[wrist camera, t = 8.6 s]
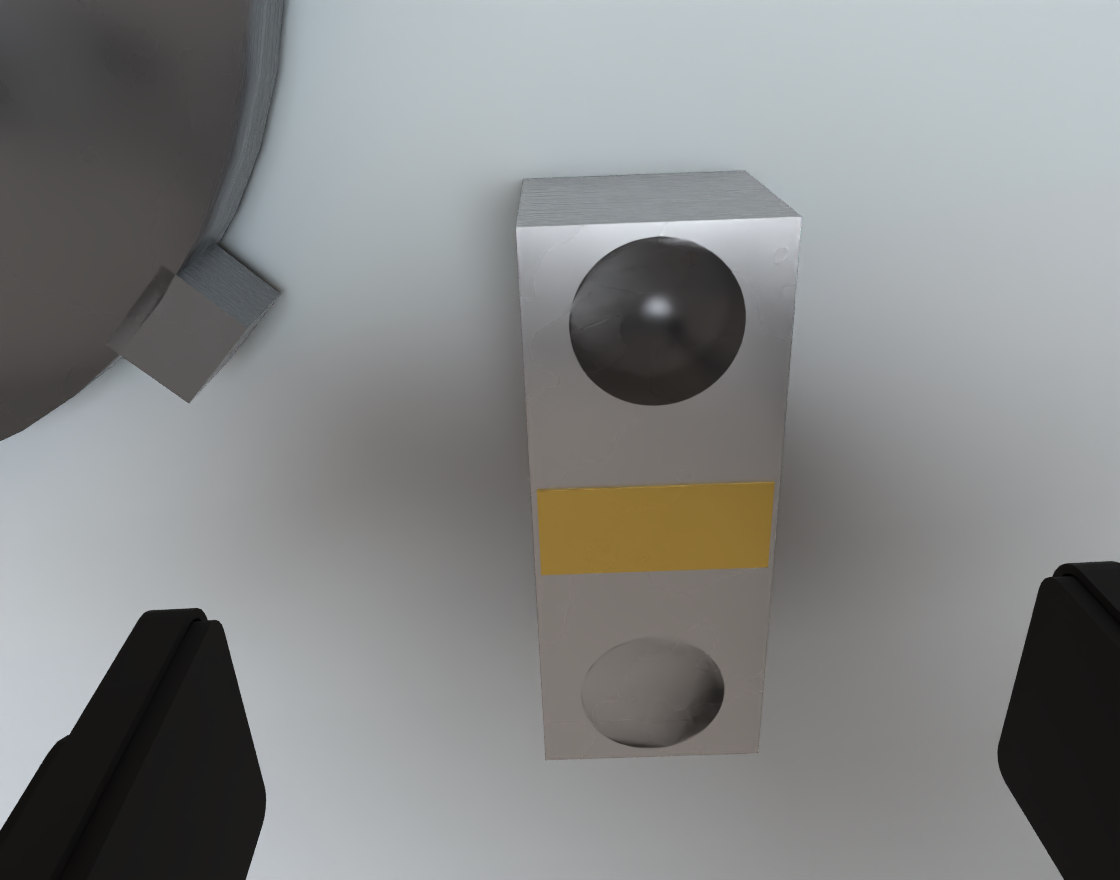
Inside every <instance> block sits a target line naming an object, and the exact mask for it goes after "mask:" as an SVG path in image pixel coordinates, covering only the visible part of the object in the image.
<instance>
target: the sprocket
mask: <svg viewBox="0 0 1120 880" xmlns="http://www.w3.org/2000/svg"><path fill="white" fill-rule="evenodd" d="M282 11H283V0H0V441H1V440H4V439H6V438H8V437H10V436H12V435H14V434H16V433H19V432H21V431H23V430H24V429H26V428H27V427H29V426H30V425H32V424H33V423H35V422H36V421H38V420H39V419H41V418H42V417H44V416H45V415H47V414H48V413H50V412H51V411H53V410H54V409H56V408H57V407H59V406H60V405H62V404H63V403H65V402H66V401H68V400H69V399H70V398H72V397H73V396H75V395H76V394H77V393H79V392H80V391H81V390H82V389H84V388H85V387H86V386H87V385H89V384H90V383H91V382H92V381H94V380H95V379H96V378H97V377H99V376H100V375H101V374H102V373H104V372H105V371H106V370H107V369H109V368H110V367H111V366H112V365H113V364H115V363H116V362H117V361H118V360H120V359H121V358H122V357H124V358H125V359H127V360H128V361H129V362H131V363H132V364H134V365H135V366H137V367H138V368H139V369H141V370H142V371H144V372H145V373H146V374H148V375H149V376H151V377H152V378H154V379H155V380H156V381H158V382H159V383H161V384H162V385H163V386H165V387H166V388H168V389H169V390H171V391H172V392H173V393H175V394H176V395H178V396H179V397H181V398H182V399H183V400H185V401H186V402H188V403H190V402H191V401H192V400H193V398H194V397H195V396H196V395H197V394H198V393H199V392H200V391H201V390H202V389H203V388H204V387H205V386H206V384H207V383H208V382H209V381H210V380H211V379H212V378H213V377H214V376H215V375H216V374H217V373H218V371H219V370H220V369H221V368H222V367H223V366H224V365H225V364H226V363H227V362H228V360H229V359H230V358H231V357H232V355H233V354H234V353H235V351H236V350H237V349H238V348H239V346H240V345H241V344H242V343H243V341H244V340H245V339H246V337H247V336H248V335H249V334H250V332H251V331H252V330H253V328H254V327H255V326H256V325H257V323H258V322H259V321H260V320H261V318H262V317H263V316H264V314H265V313H266V312H267V311H268V309H269V308H270V307H271V305H272V304H273V303H274V302H275V300H276V299H277V298H278V297H279V295H280V293H279V292H277V291H276V290H275V289H273V288H272V287H271V286H270V285H268V284H267V283H266V282H264V281H263V280H262V279H260V278H259V277H258V276H257V275H255V274H254V273H253V272H251V271H250V270H249V269H248V268H246V267H245V266H244V265H242V264H241V263H240V262H238V261H237V260H236V259H235V258H233V257H232V256H231V255H229V254H228V253H227V252H226V251H224V250H223V249H222V248H220V247H219V246H218V244H219V242H220V240H221V238H222V236H223V235H224V233H225V231H226V229H227V227H228V226H229V224H230V222H231V220H232V218H233V217H234V215H235V213H236V211H237V209H238V206H239V203H240V201H241V198H242V195H243V193H244V190H245V187H246V185H247V182H248V179H249V176H250V174H251V171H252V168H253V166H254V163H255V160H256V158H257V155H258V152H259V150H260V147H261V143H262V139H263V134H264V130H265V125H266V121H267V116H268V112H269V107H270V103H271V98H272V94H273V89H274V85H275V80H276V76H277V67H278V56H279V45H280V33H281V22H282Z"/></svg>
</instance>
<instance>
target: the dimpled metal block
mask: <svg viewBox="0 0 1120 880" xmlns="http://www.w3.org/2000/svg"><path fill="white" fill-rule="evenodd" d="M801 223H802V216H801V215H799V214H798V213H797V212H796V211H794V210H793V209H792V208H791V207H789V206H788V205H787V204H786V203H785V202H783V201H782V200H781V199H780V198H778V197H777V196H776V195H775V194H773V193H772V192H771V191H770V190H769V189H767V188H766V187H765V186H764V185H762V184H761V183H760V182H759V181H758V180H756V179H755V178H754V177H753V176H751V175H750V174H749V173H748V172H746V171H724V172H697V173H671V174H644V175H617V176H590V177H564V178H537V179H523V186H522V192H521V198H520V204H519V211H518V217H517V223H516V239H517V257H518V275H519V293H520V310H521V328H522V346H523V364H524V382H525V400H526V418H527V436H528V453H529V471H530V489H531V507H532V525H533V543H534V561H535V578H536V596H537V614H538V632H539V650H540V668H541V686H542V703H543V721H544V739H545V757H546V760H561V759H591V758H621V757H651V756H681V755H710V754H740V753H758V747H759V735H760V723H761V711H762V698H763V686H764V674H765V662H766V650H767V638H768V625H769V613H770V601H771V589H772V577H773V564H774V552H775V540H776V528H777V516H778V503H779V491H780V479H781V467H782V455H783V442H784V430H785V418H786V406H787V394H788V381H789V369H790V357H791V345H792V333H793V320H794V308H795V296H796V284H797V272H798V260H799V247H800V235H801Z"/></svg>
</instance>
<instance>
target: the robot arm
mask: <svg viewBox="0 0 1120 880" xmlns="http://www.w3.org/2000/svg"><path fill="white" fill-rule="evenodd" d="M997 753H998V763H999V768H1000V771H1001V774H1002V777H1003V779H1004V781H1005V783H1006V784H1007V786H1008V788H1009V789H1010V791H1011V793H1012V794H1013V796H1014V798H1015V799H1016V801H1017V803H1018V804H1019V806H1020V808H1021V809H1022V811H1023V812H1024V814H1025V816H1026V817H1027V819H1028V821H1029V822H1030V824H1031V826H1032V827H1033V829H1034V831H1035V832H1036V834H1037V836H1038V837H1039V839H1040V841H1041V842H1042V844H1043V845H1044V847H1045V849H1046V850H1047V852H1048V854H1049V855H1050V857H1051V859H1052V860H1053V862H1054V864H1055V865H1056V867H1057V869H1058V870H1059V872H1060V874H1061V875H1062V877H1063V878H1064V880H1120V563H1118V562H1114V561H1106V562H1086V563H1067V564H1063V565H1060V566H1059V567H1058V568H1057V569H1056V570H1055V572H1054V574H1053V577H1049V578H1045V579H1044V580H1043V581H1042V583H1041V585H1040V588H1039V591H1038V595H1037V598H1036V602H1035V606H1034V610H1033V614H1032V618H1031V622H1030V625H1029V629H1028V633H1027V637H1026V641H1025V645H1024V649H1023V652H1022V656H1021V660H1020V664H1019V668H1018V672H1017V676H1016V679H1015V683H1014V687H1013V691H1012V695H1011V699H1010V703H1009V706H1008V710H1007V714H1006V718H1005V722H1004V726H1003V729H1002V733H1001V737H1000V741H999V745H998V752H997ZM265 809H266V792H265V786H264V782H263V778H262V775H261V771H260V767H259V763H258V759H257V755H256V751H255V748H254V744H253V740H252V736H251V732H250V728H249V725H248V721H247V717H246V713H245V709H244V705H243V702H242V698H241V694H240V690H239V686H238V682H237V679H236V675H235V671H234V667H233V663H232V659H231V655H230V652H229V648H228V644H227V640H226V636H225V632H224V629H223V626H222V624H221V623H220V622H219V621H217V620H207V617H206V615H205V613H204V612H203V611H202V610H201V609H198V608H189V609H169V610H150V611H147V612H145V613H144V614H143V615H142V616H141V617H140V618H139V620H138V622H137V623H136V625H135V627H134V628H133V630H132V632H131V633H130V635H129V636H128V638H127V640H126V641H125V643H124V645H123V646H122V648H121V650H120V651H119V653H118V655H117V656H116V658H115V660H114V661H113V663H112V665H111V666H110V668H109V670H108V671H107V673H106V675H105V676H104V678H103V680H102V681H101V683H100V685H99V686H98V688H97V690H96V691H95V693H94V695H93V696H92V698H91V700H90V701H89V703H88V705H87V706H86V708H85V710H84V711H83V713H82V715H81V716H80V718H79V720H78V721H77V723H76V725H75V726H74V728H73V730H72V731H71V733H70V735H67V736H66V737H64V738H62V739H61V740H59V741H58V742H57V743H56V744H55V745H54V746H53V748H52V749H51V750H50V751H49V753H48V754H47V756H46V757H45V759H44V760H43V762H42V764H41V765H40V767H39V769H38V770H37V772H36V773H35V775H34V777H33V778H32V780H31V782H30V783H29V785H28V786H27V788H26V790H25V791H24V793H23V795H22V796H21V798H20V799H19V801H18V803H17V804H16V806H15V808H14V809H13V811H12V812H11V814H10V816H9V817H8V819H7V821H6V822H5V824H4V825H3V827H2V829H1V830H0V880H246V877H247V874H248V870H249V867H250V864H251V861H252V857H253V854H254V851H255V848H256V844H257V841H258V838H259V835H260V831H261V828H262V825H263V821H264V816H265Z"/></svg>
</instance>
